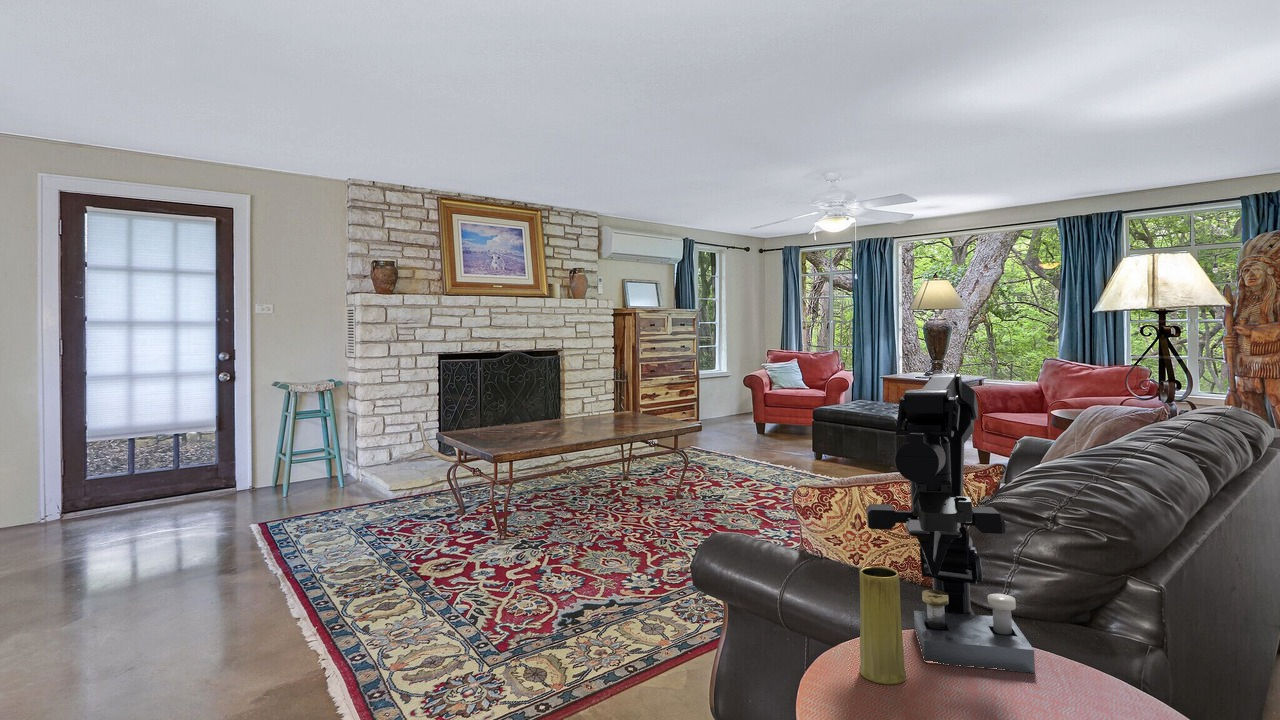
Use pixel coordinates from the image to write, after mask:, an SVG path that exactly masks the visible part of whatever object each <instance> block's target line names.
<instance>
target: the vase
mask: <svg viewBox="0 0 1280 720" xmlns="http://www.w3.org/2000/svg"><path fill="white" fill-rule="evenodd" d="M900 585H901V584H900V574H899V572H898V570H896V569H893V568H891V567H886V566H878V565H877V566H874V565H873V566H872V565H871V566H866V567H862V568H860V569H859V604H860V605H859V607H860V608H859V610H860V616H859V617H860V618H859V619H860V622H859V624H860V625H859V629H860V630H859V631H860V632H859V635H860V636H859V659H860V664H859V665H860V666H859V673H860V675H861V676H862V677H863V678H864V679H866V680H867V681H870V682H872V683H875V684H879V685H888V686H889V685H890V686H891V685H899V684H901V683H903V682H904V681H906V680H907V672H906V668H905V667H906V666H905V654H904V642H903V626H902V614H901V588H900Z"/></svg>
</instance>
